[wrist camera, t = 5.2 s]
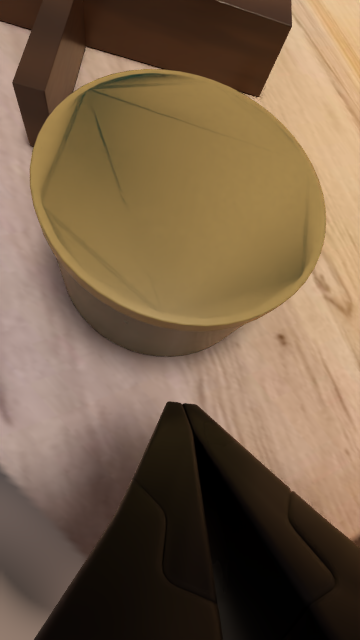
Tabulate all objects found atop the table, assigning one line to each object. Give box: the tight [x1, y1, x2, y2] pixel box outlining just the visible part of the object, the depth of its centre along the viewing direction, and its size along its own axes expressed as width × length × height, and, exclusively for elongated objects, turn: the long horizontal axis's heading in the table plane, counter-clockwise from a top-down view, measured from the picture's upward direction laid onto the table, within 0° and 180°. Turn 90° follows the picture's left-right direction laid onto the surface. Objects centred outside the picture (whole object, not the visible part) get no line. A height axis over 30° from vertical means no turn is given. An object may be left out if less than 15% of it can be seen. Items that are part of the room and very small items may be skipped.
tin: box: [30, 69, 326, 357], centre depth 16 cm, size 12×12×7 cm
